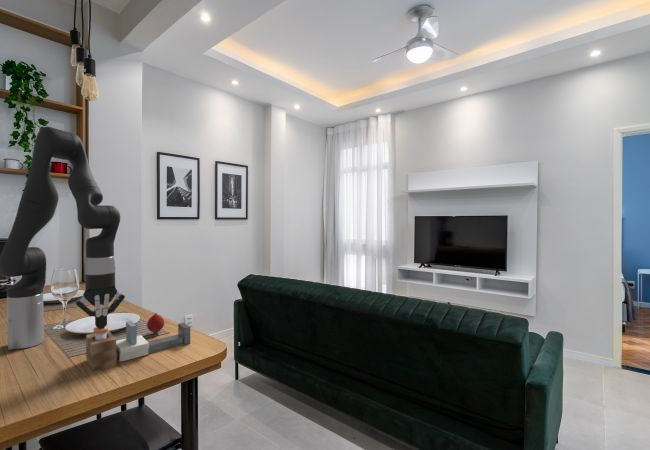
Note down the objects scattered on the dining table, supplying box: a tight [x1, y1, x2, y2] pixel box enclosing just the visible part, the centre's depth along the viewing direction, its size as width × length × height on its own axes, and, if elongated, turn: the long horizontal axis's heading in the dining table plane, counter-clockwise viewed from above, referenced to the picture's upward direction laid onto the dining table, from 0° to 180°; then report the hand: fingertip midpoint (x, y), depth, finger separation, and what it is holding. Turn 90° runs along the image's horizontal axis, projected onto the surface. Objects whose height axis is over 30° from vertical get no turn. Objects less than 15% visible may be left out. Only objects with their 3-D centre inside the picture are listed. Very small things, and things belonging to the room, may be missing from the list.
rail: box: [116, 322, 191, 363], centre depth 112 cm, size 23×6×6 cm, turn 134°
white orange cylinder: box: [93, 325, 109, 340], centre depth 101 cm, size 4×4×8 cm
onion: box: [146, 312, 165, 335], centre depth 126 cm, size 6×6×8 cm
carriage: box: [116, 320, 149, 362], centre depth 107 cm, size 8×9×10 cm
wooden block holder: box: [85, 329, 117, 373], centre depth 102 cm, size 6×10×8 cm, turn 44°
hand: (101, 327), depth 101 cm, fingers closed
